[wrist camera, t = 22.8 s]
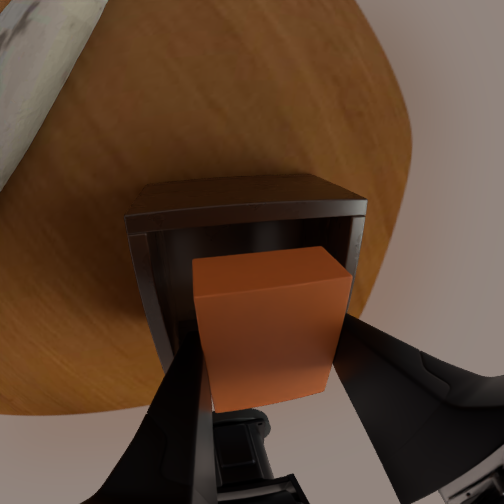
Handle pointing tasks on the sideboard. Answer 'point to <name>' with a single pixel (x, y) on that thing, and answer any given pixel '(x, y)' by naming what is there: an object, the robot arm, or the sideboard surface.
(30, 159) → the sideboard surface
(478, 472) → the robot arm
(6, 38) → the decorative stone
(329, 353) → the orange block
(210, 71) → the sideboard surface
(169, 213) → the holder
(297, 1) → the sideboard surface
